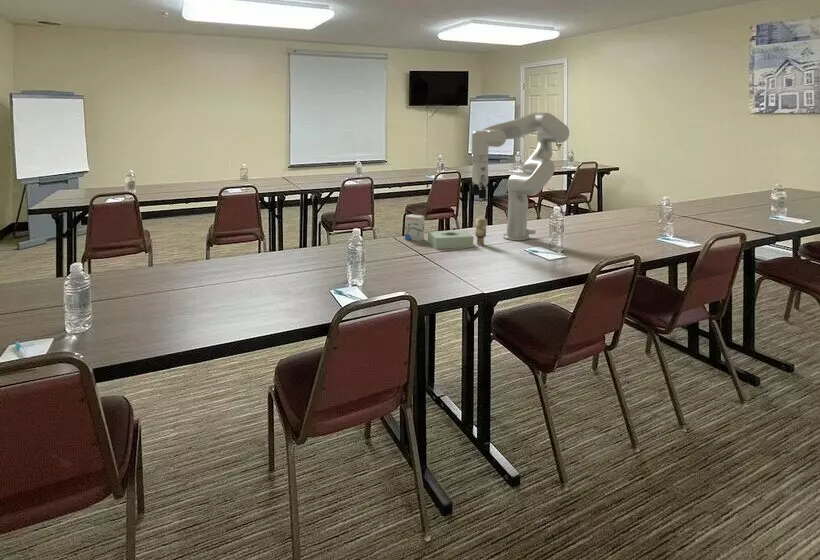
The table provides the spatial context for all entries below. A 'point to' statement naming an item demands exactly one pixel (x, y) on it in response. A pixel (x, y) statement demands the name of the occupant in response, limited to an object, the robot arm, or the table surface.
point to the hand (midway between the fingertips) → (478, 196)
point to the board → (450, 239)
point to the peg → (480, 230)
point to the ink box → (414, 227)
